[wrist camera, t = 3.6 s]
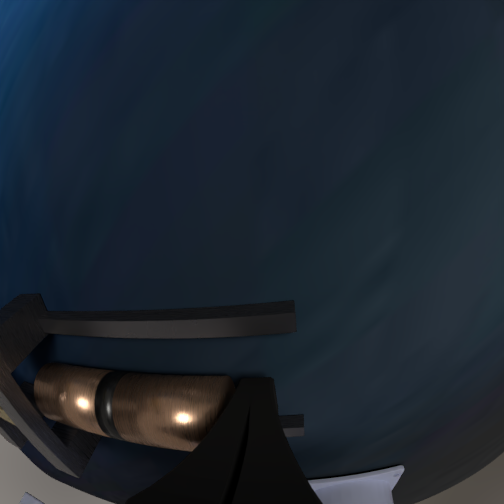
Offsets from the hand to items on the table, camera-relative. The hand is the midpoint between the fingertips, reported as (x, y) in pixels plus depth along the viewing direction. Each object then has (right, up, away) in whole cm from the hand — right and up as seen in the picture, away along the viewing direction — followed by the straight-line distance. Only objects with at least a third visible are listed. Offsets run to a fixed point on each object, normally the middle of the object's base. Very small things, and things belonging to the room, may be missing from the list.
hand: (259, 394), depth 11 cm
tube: (-6, 0, +2) cm, 6 cm away
